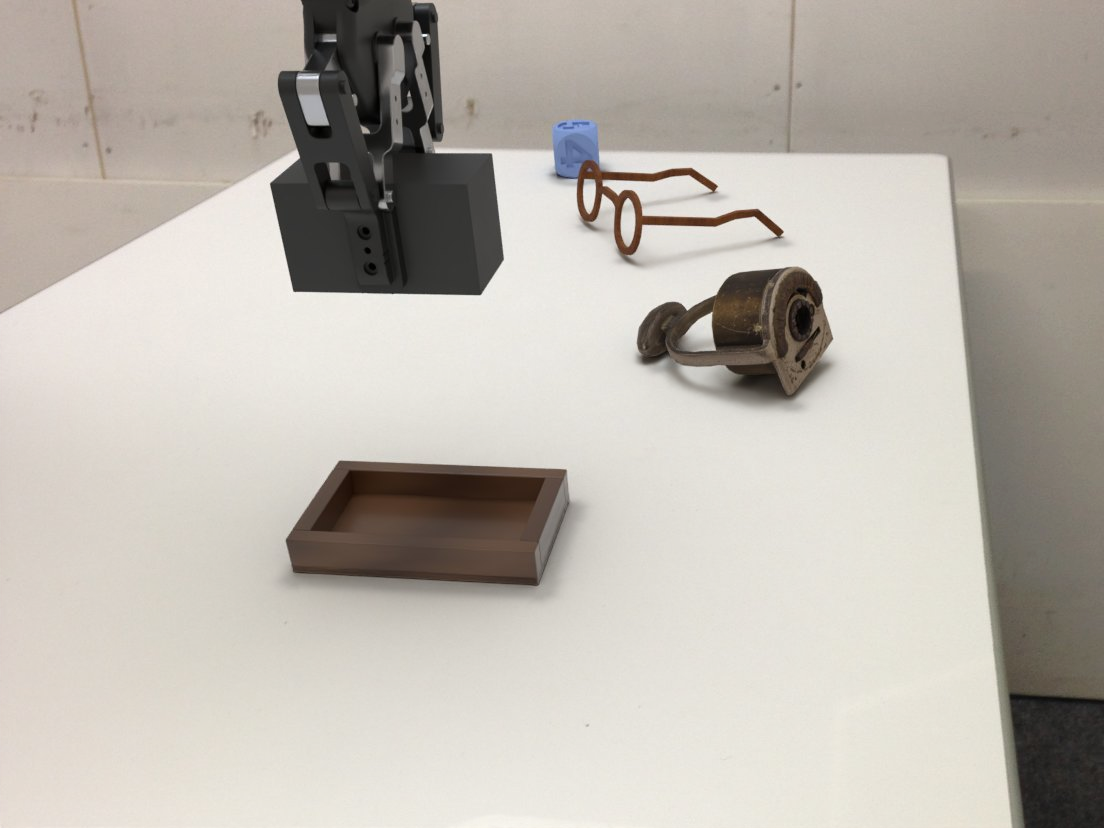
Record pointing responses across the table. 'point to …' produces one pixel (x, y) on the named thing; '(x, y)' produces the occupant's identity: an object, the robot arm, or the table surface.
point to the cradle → (431, 522)
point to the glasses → (639, 218)
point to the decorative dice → (574, 146)
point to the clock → (402, 226)
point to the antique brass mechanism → (749, 326)
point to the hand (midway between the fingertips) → (400, 267)
